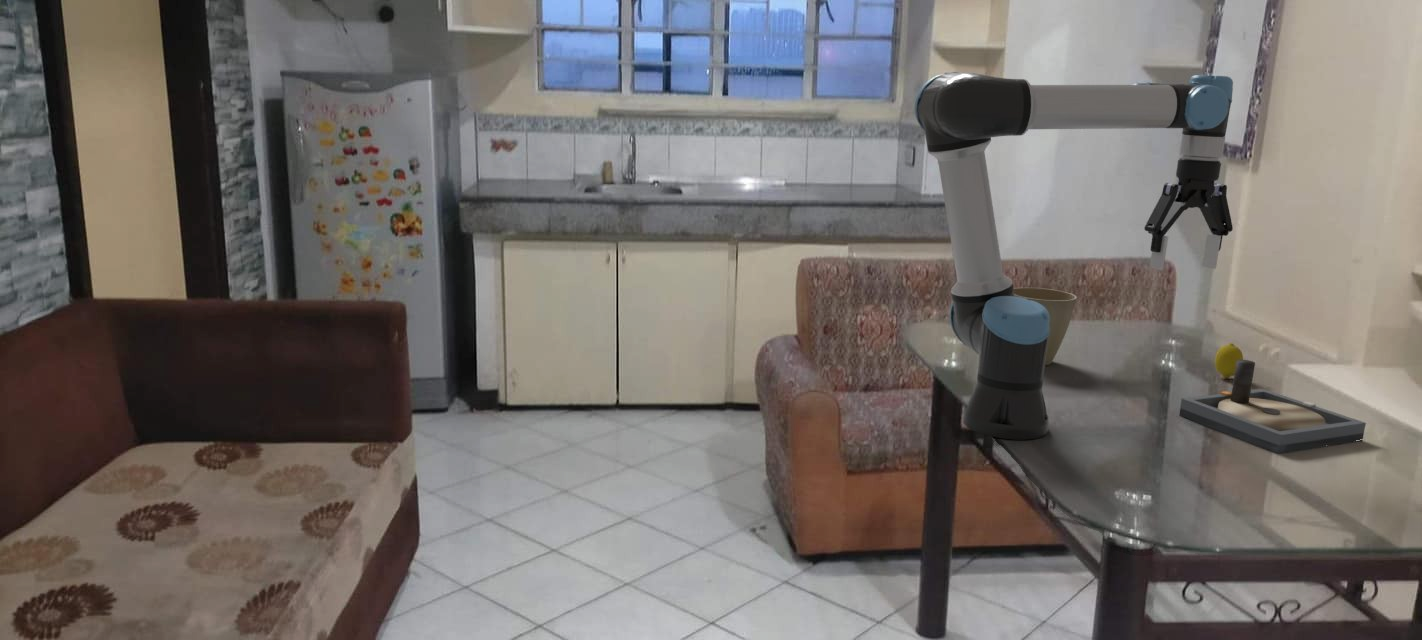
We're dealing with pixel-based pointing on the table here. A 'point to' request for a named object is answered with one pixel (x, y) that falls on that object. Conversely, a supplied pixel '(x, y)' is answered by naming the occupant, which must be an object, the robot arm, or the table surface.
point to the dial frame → (1331, 433)
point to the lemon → (1227, 359)
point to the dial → (1265, 405)
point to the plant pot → (1052, 313)
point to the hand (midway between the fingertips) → (1182, 268)
